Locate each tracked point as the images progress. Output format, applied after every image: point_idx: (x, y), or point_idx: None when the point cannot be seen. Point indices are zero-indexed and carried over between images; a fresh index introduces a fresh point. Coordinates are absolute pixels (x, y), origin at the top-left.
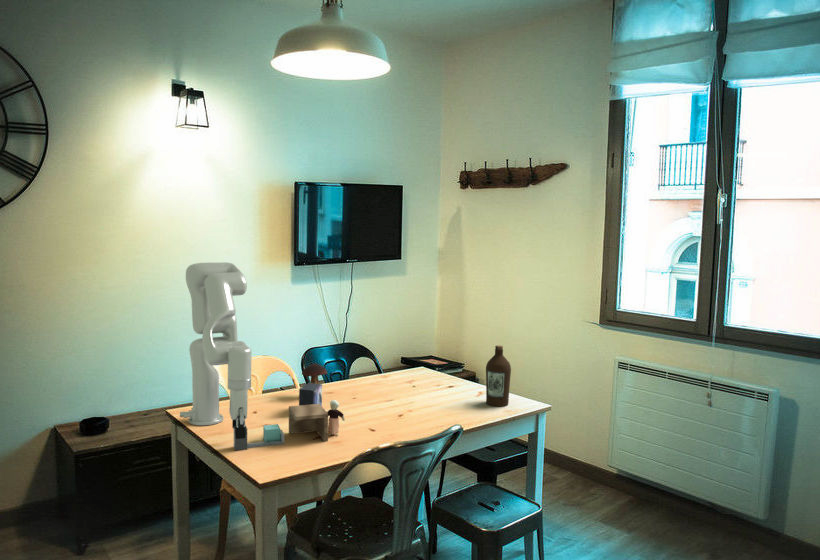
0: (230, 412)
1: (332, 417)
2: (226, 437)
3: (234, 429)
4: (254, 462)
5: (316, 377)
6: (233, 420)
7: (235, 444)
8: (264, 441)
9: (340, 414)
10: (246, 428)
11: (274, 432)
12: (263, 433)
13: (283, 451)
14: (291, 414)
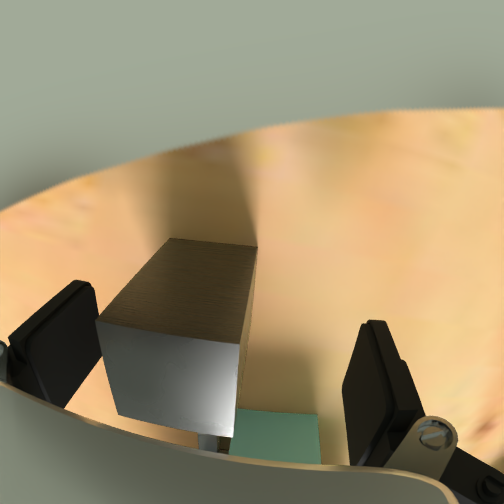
0: (66, 497)
1: None
2: (468, 241)
3: (132, 324)
4: (6, 290)
5: None
6: (378, 387)
7: (155, 259)
8: (275, 412)
9: None
10: (130, 415)
11: None
12: (317, 440)
13: (114, 423)
14: None
